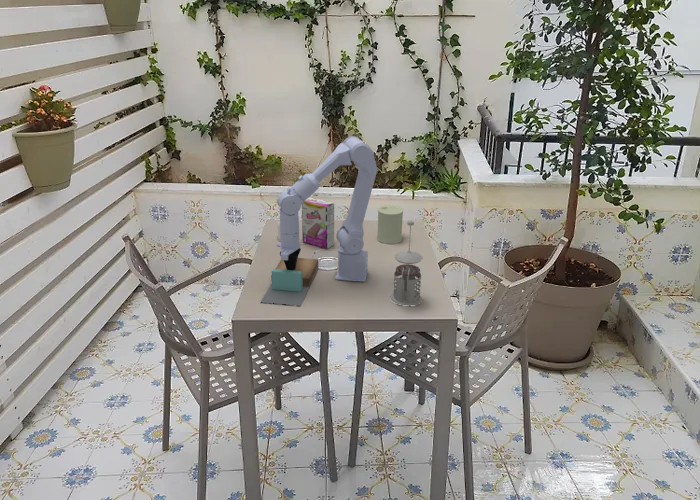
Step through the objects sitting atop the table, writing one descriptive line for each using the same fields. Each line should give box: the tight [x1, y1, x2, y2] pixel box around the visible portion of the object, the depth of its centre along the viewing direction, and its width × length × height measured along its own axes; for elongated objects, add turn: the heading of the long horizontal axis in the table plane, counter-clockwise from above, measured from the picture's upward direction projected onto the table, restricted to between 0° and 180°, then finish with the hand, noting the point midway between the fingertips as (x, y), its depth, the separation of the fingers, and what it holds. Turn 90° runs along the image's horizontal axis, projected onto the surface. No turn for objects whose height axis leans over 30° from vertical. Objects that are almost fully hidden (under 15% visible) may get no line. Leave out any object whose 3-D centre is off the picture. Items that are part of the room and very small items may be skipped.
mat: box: [260, 283, 310, 307], centre depth 171 cm, size 12×12×1 cm
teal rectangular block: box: [271, 268, 303, 292], centre depth 173 cm, size 9×6×2 cm
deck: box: [270, 257, 320, 288], centre depth 182 cm, size 12×14×3 cm
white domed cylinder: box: [277, 219, 281, 242], centre depth 209 cm, size 5×5×8 cm
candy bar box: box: [301, 196, 335, 249], centre depth 203 cm, size 11×5×16 cm, turn 58°
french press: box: [390, 219, 424, 306], centre depth 164 cm, size 10×12×25 cm
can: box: [376, 205, 404, 245], centre depth 208 cm, size 9×9×12 cm
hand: (291, 271), depth 176 cm, fingers closed
